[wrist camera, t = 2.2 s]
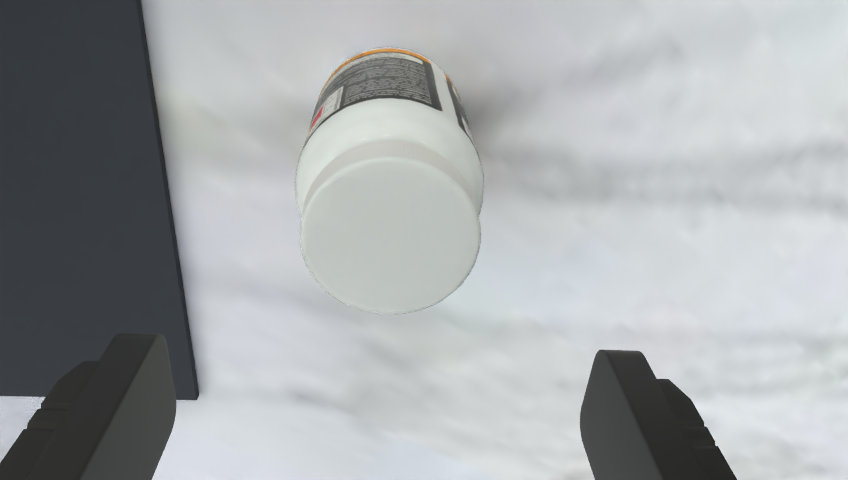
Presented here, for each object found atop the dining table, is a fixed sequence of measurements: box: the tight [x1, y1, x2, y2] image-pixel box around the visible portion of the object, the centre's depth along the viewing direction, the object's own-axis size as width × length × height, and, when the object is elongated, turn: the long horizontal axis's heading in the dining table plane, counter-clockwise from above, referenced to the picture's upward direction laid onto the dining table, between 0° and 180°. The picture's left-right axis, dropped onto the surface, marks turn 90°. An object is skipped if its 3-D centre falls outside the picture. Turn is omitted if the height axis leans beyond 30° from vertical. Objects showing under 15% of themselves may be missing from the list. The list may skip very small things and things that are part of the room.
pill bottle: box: [295, 47, 484, 314], centre depth 20 cm, size 6×6×10 cm
